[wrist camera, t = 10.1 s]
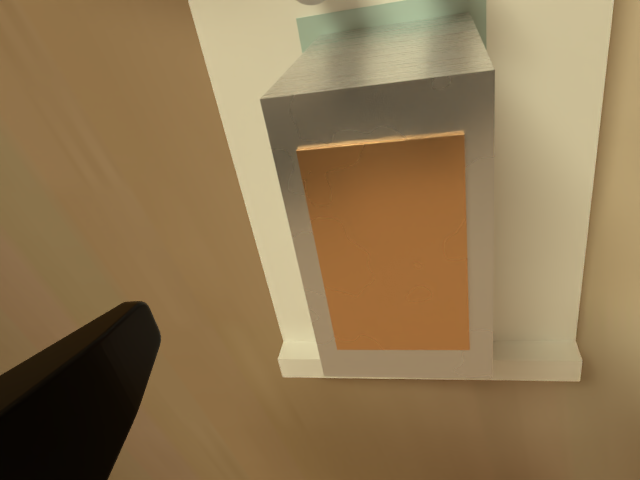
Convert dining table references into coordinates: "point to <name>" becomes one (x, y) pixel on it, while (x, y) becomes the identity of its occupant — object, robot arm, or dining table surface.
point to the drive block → (392, 196)
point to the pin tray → (509, 155)
